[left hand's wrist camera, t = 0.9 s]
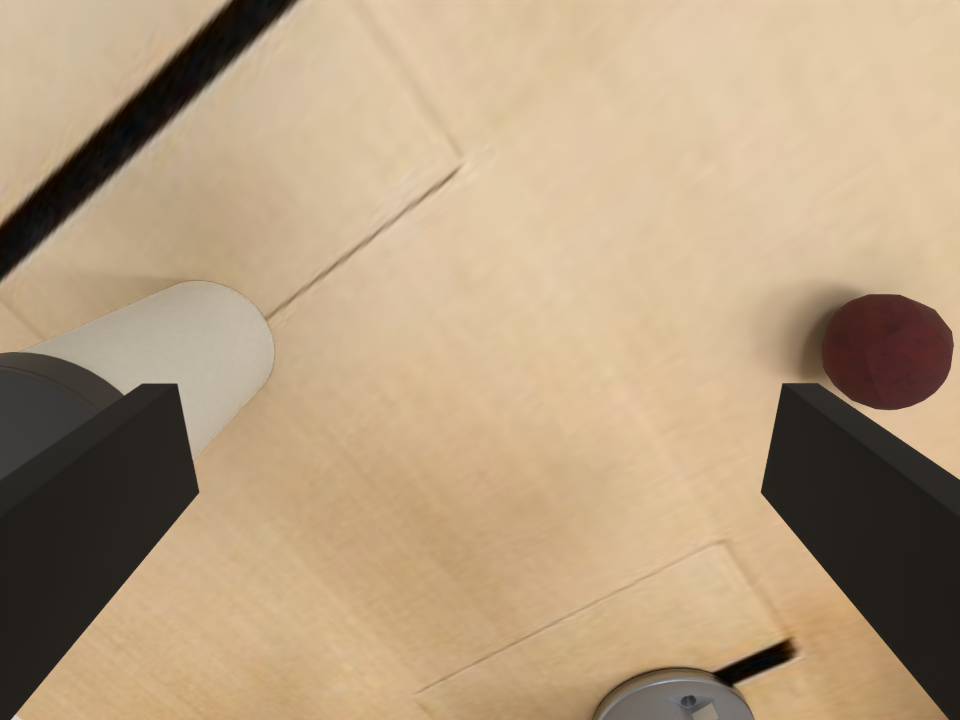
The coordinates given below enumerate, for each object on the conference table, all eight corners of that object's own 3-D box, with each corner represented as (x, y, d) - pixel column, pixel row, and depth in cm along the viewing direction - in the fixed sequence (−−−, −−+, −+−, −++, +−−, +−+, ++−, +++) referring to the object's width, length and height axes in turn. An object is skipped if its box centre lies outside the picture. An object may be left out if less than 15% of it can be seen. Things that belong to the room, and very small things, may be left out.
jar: (161, 407, 43) (-43, 569, 26) (126, 284, 40) (-131, 379, 23) (285, 401, 43) (160, 560, 26) (261, 276, 40) (100, 367, 23)
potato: (824, 400, 43) (887, 446, 36) (782, 318, 40) (842, 350, 34) (919, 349, 41) (1003, 387, 35) (882, 261, 39) (964, 283, 32)
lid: (-19, 553, 28) (-56, 583, 26) (-105, 357, 24) (-156, 375, 22) (187, 543, 28) (165, 572, 26) (130, 345, 24) (99, 362, 22)
